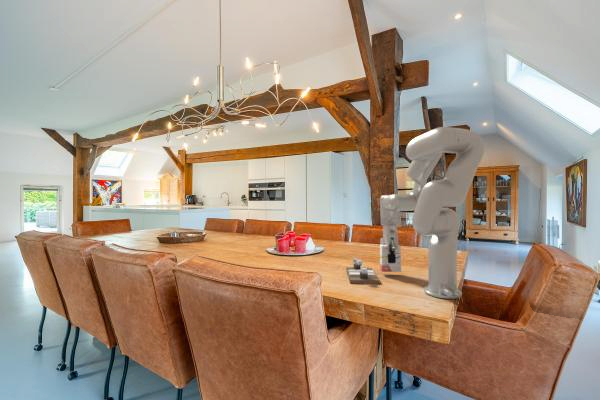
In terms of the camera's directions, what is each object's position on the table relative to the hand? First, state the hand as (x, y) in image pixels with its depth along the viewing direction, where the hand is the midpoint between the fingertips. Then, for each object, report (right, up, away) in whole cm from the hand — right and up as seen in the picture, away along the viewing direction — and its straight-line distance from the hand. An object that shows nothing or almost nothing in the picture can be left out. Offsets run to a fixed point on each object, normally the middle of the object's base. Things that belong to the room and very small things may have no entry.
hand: (390, 261), depth 133 cm
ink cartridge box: (0, -5, 0) cm, 5 cm away
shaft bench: (-14, -7, -2) cm, 15 cm away
